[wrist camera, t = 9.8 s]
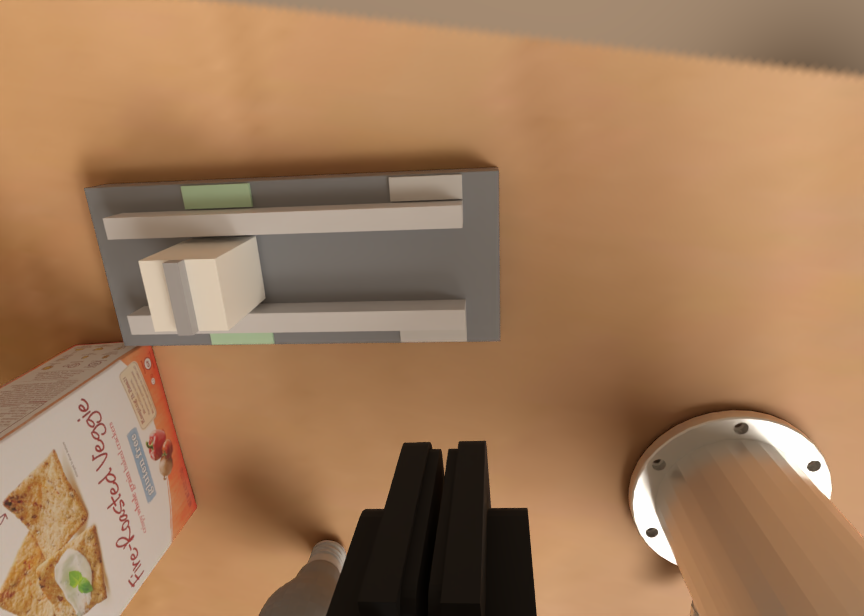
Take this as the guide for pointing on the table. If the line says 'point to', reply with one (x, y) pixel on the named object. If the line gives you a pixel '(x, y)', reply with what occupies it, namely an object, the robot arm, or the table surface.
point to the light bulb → (309, 584)
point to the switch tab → (203, 284)
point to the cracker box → (87, 482)
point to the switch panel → (321, 253)
